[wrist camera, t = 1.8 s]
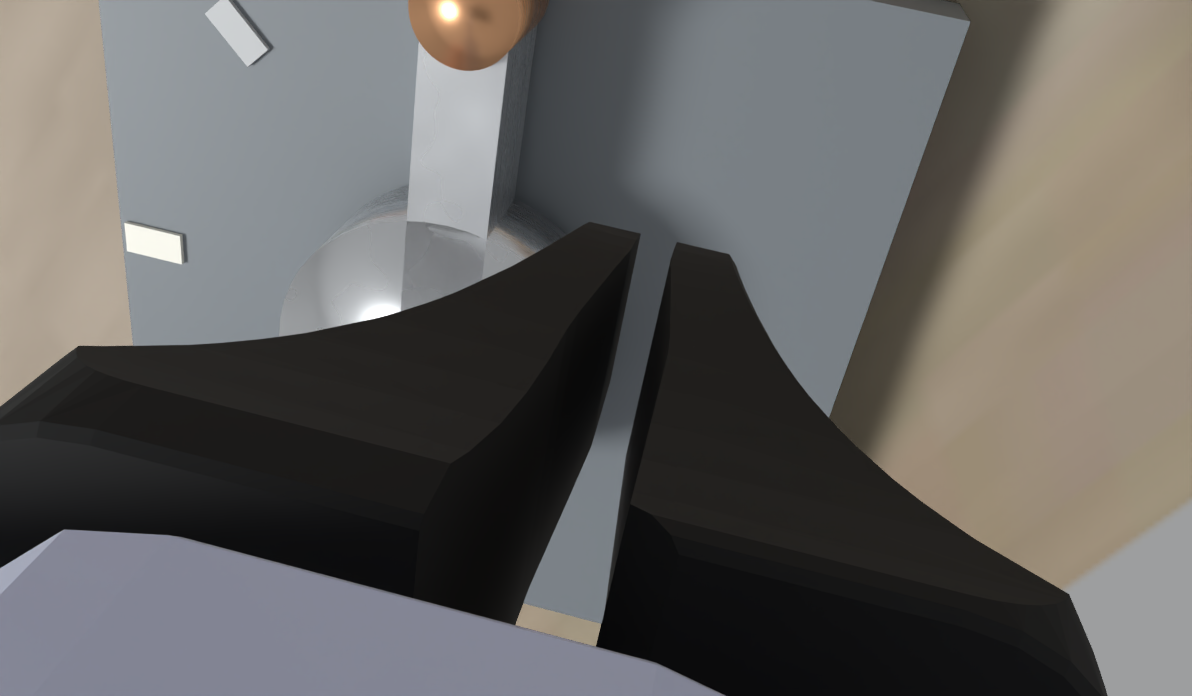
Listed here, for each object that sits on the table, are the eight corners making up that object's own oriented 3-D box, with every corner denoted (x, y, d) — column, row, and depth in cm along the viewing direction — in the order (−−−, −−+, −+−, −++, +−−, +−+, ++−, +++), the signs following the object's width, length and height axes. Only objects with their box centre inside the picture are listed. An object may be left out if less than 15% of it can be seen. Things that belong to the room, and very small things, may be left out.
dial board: (745, 617, 26) (741, 663, 25) (179, 470, 27) (146, 507, 26) (959, 3, 18) (971, 23, 17) (130, -170, 19) (78, -165, 18)
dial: (585, 475, 23) (564, 539, 21) (319, 408, 23) (275, 465, 21) (688, -28, 17) (672, -3, 15) (328, -104, 17) (270, -89, 15)
